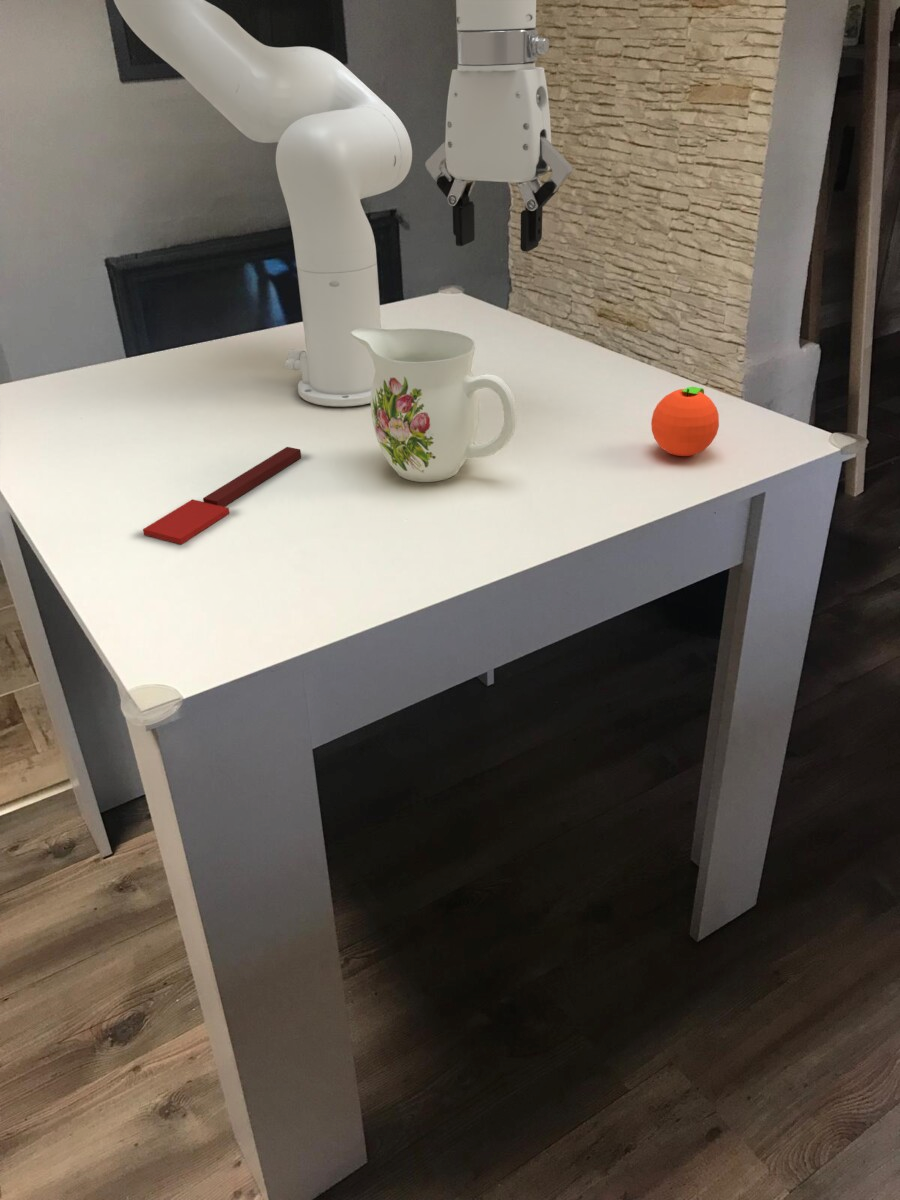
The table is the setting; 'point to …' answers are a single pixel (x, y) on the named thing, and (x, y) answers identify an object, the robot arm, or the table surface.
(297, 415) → the table surface
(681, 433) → the clementine
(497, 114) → the robot arm
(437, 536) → the table surface
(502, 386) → the pitcher
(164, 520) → the spatula
